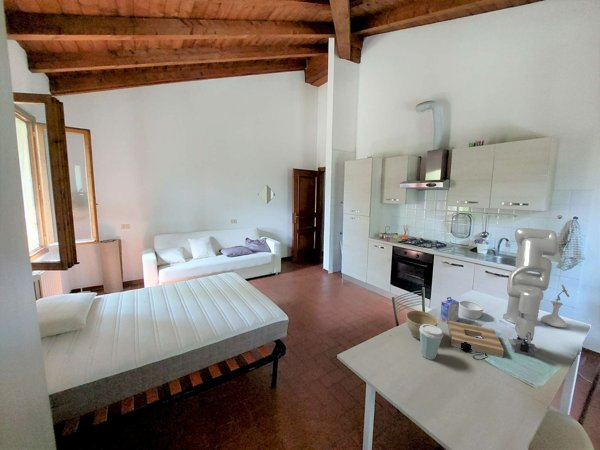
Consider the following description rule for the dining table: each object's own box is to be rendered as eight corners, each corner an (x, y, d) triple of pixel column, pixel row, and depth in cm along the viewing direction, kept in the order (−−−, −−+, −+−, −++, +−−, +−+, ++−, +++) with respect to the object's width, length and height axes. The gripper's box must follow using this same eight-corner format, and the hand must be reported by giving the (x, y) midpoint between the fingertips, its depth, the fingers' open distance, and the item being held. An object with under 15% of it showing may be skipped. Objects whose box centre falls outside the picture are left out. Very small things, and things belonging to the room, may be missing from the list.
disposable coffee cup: (421, 346, 137) (424, 319, 134) (444, 355, 129) (447, 328, 126) (413, 355, 129) (415, 327, 127) (436, 366, 122) (439, 337, 119)
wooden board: (448, 326, 155) (448, 320, 154) (492, 336, 146) (493, 329, 145) (451, 345, 137) (452, 338, 136) (502, 357, 128) (503, 350, 127)
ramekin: (487, 320, 162) (488, 310, 161) (465, 320, 162) (467, 310, 161) (473, 310, 175) (474, 300, 174) (453, 310, 175) (454, 300, 174)
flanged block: (507, 346, 137) (508, 337, 136) (532, 351, 133) (534, 342, 132) (510, 351, 133) (511, 342, 132) (536, 357, 128) (538, 348, 127)
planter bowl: (398, 330, 151) (400, 312, 149) (421, 325, 156) (422, 308, 154) (419, 346, 136) (420, 327, 134) (443, 341, 141) (445, 322, 139)
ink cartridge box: (449, 316, 167) (452, 295, 165) (458, 320, 162) (460, 298, 160) (439, 319, 163) (441, 297, 161) (447, 324, 158) (449, 301, 156)
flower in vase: (561, 331, 151) (569, 290, 147) (537, 321, 161) (543, 283, 157) (570, 325, 157) (578, 286, 153) (546, 317, 167) (553, 280, 163)
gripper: (512, 306, 138) (508, 337, 141) (523, 321, 123) (518, 356, 126) (530, 309, 135) (525, 341, 138) (544, 325, 120) (538, 360, 123)
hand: (522, 347), depth 132 cm, fingers closed on flanged block, 5 cm apart
